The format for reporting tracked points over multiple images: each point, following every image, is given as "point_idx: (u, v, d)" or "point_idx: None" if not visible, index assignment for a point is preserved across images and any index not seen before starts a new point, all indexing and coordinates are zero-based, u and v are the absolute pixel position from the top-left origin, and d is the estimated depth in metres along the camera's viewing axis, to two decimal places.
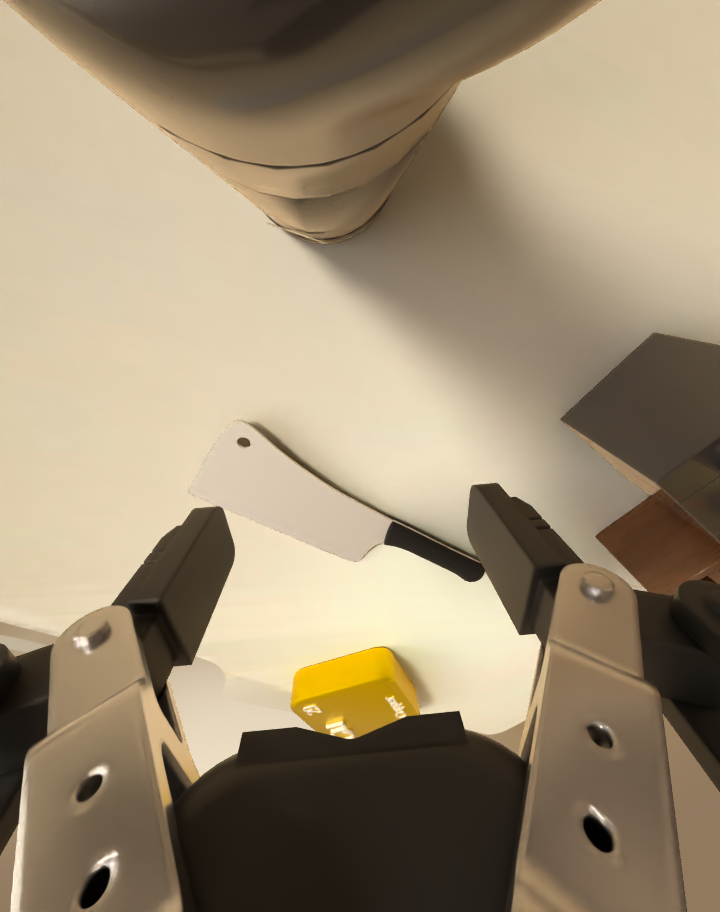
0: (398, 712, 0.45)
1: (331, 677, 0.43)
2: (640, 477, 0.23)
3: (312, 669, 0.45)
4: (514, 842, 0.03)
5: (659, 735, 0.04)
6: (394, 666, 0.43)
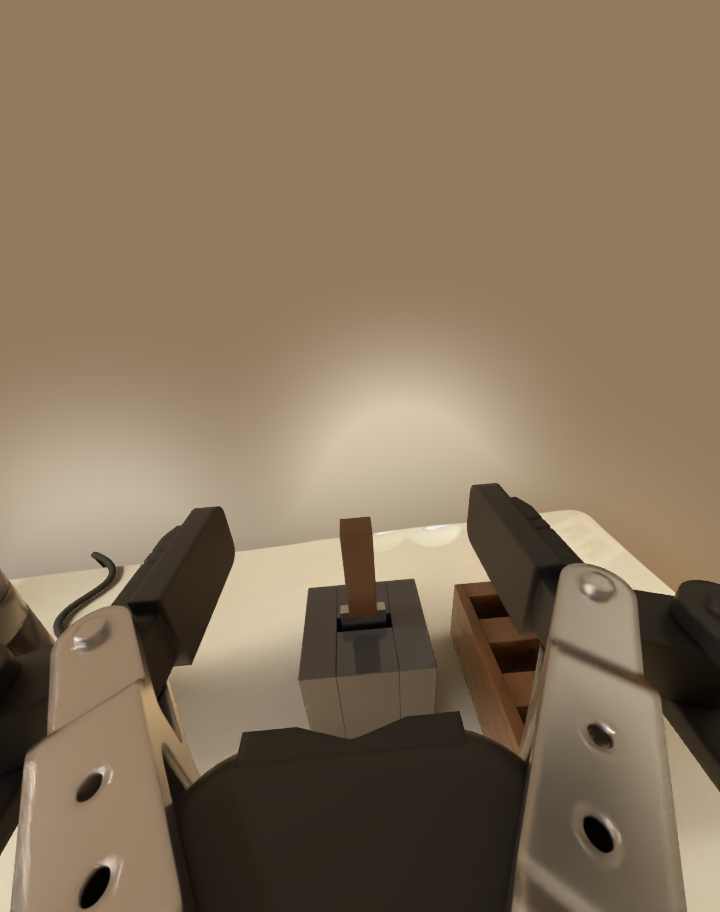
0: None
1: None
2: (330, 696, 0.26)
3: None
4: (514, 842, 0.03)
5: (659, 735, 0.04)
6: None
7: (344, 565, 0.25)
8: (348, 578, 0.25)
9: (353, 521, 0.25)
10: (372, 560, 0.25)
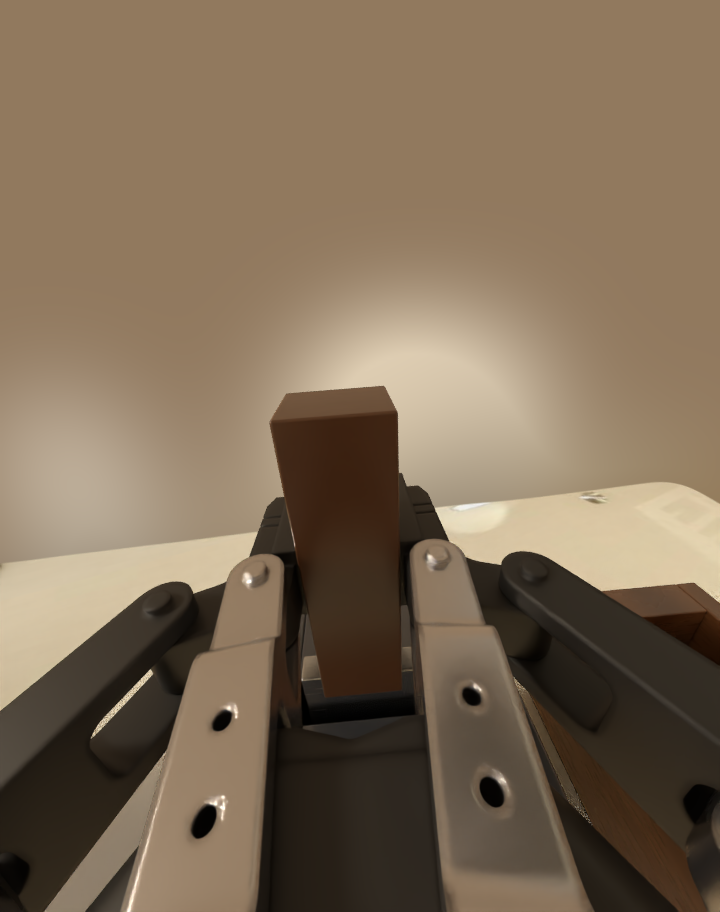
0: None
1: None
2: None
3: None
4: None
5: (506, 668, 0.05)
6: None
7: (297, 544, 0.07)
8: (314, 589, 0.08)
9: (328, 394, 0.07)
10: (394, 526, 0.07)
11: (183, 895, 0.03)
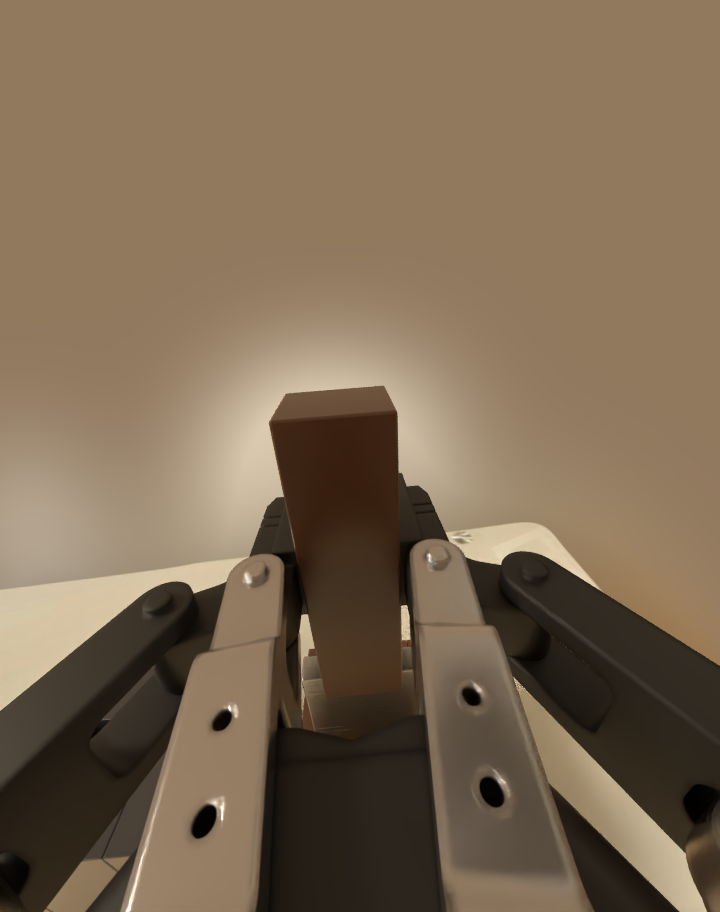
0: None
1: None
2: None
3: None
4: None
5: (505, 667, 0.05)
6: None
7: (297, 545, 0.07)
8: (315, 589, 0.08)
9: (328, 394, 0.07)
10: (394, 527, 0.07)
11: (183, 894, 0.03)
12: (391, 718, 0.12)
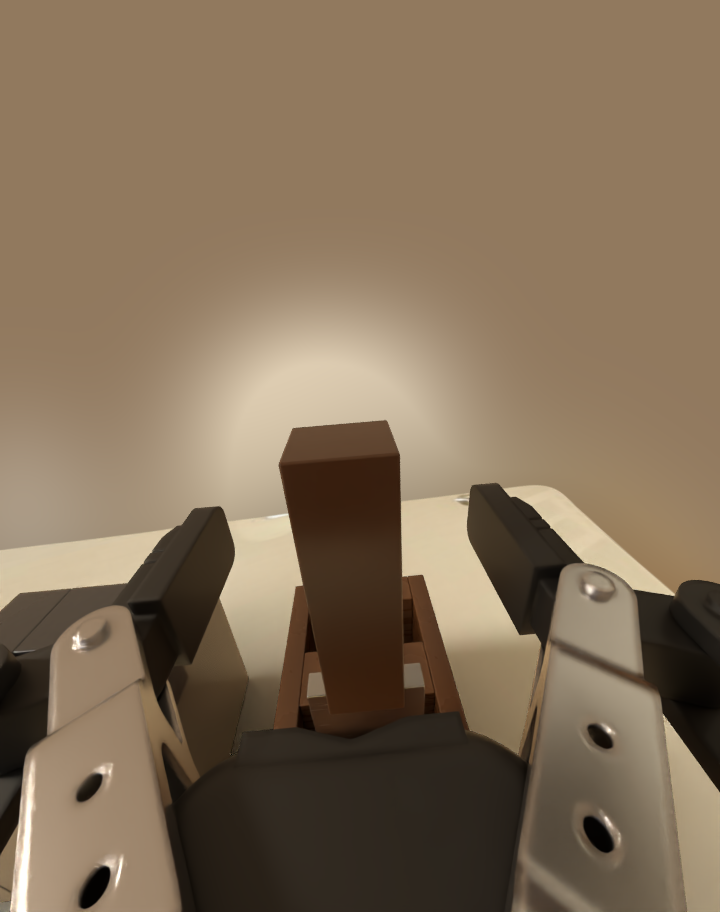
0: None
1: None
2: None
3: None
4: (514, 842, 0.03)
5: (659, 734, 0.04)
6: None
7: (304, 574, 0.08)
8: (320, 614, 0.08)
9: (333, 430, 0.08)
10: (396, 557, 0.07)
11: None
12: None
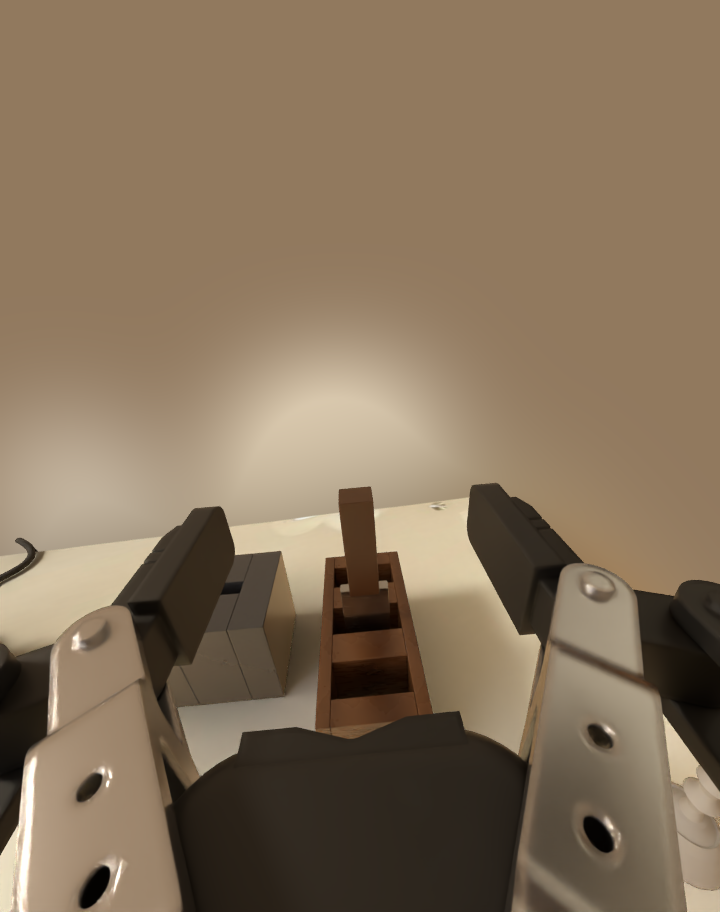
0: None
1: None
2: None
3: None
4: (514, 842, 0.03)
5: (659, 734, 0.04)
6: None
7: (343, 537, 0.23)
8: (348, 552, 0.24)
9: (353, 491, 0.23)
10: (373, 532, 0.23)
11: None
12: (376, 612, 0.28)
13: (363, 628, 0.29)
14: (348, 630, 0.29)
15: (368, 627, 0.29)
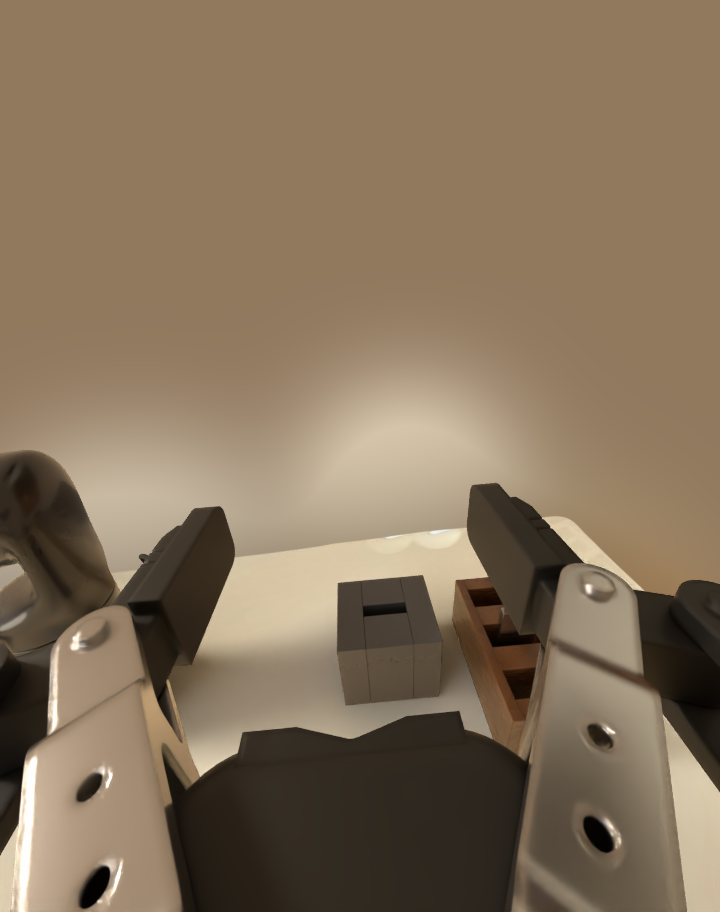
0: None
1: None
2: (360, 665, 0.34)
3: None
4: (514, 842, 0.03)
5: (659, 735, 0.04)
6: None
7: None
8: None
9: None
10: None
11: None
12: None
13: (512, 641, 0.36)
14: (500, 643, 0.36)
15: (516, 641, 0.36)
